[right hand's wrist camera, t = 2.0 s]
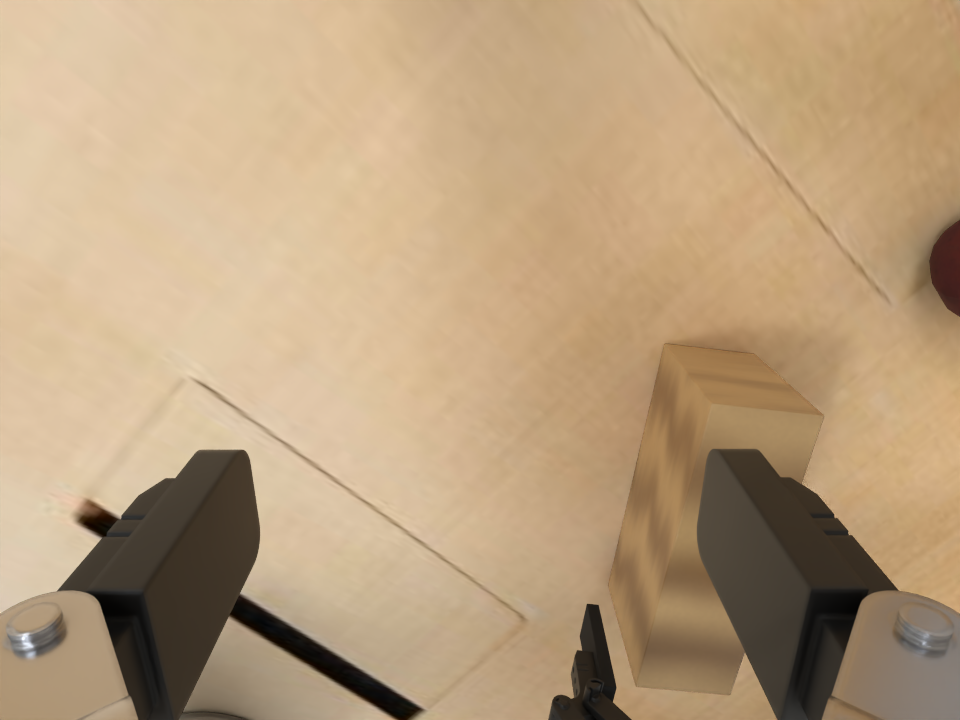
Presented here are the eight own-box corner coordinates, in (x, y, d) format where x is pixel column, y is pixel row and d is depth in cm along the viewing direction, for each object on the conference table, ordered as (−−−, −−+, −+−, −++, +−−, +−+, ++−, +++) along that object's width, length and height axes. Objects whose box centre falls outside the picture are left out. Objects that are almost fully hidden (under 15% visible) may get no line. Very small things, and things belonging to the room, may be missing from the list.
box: (664, 343, 45) (711, 403, 36) (754, 353, 45) (825, 415, 36) (607, 585, 52) (635, 687, 43) (686, 593, 52) (730, 696, 43)
